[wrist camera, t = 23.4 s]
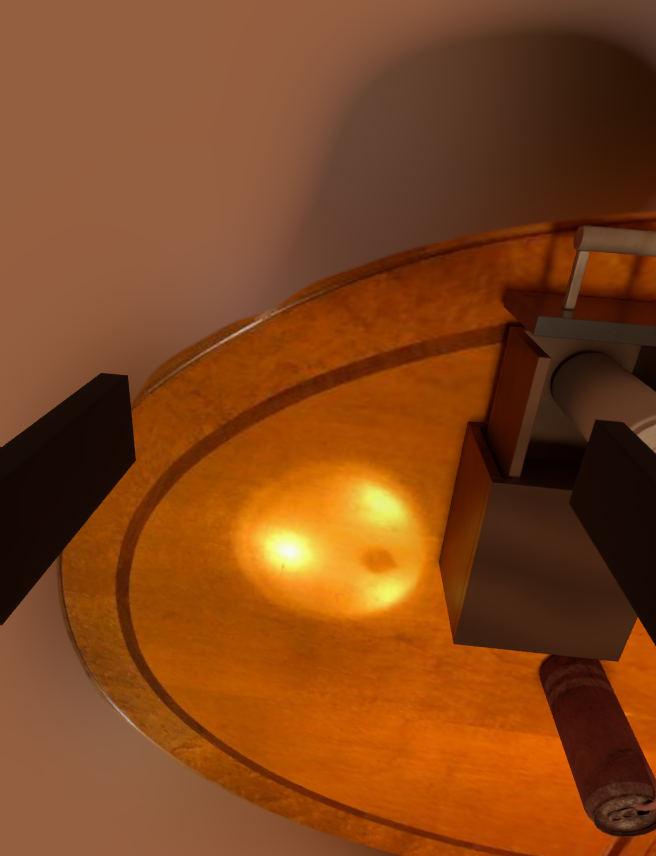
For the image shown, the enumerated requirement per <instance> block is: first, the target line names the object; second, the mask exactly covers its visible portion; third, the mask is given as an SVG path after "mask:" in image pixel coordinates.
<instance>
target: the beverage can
mask: <svg viewBox="0 0 656 856" xmlns="http://www.w3.org/2000/svg"><path fill="white" fill-rule="evenodd" d="M552 393H553V397H554V399H555V401H556V403H557V404H558V406H559V407H560V408H561V409H562V410H563V412H564V413H565V414H566V415H567V417H568V418H569V419H570V420H571V421H572V423H573V424H574V425H575V426H576V427H577V429H578V430H579V431H580V432H581V434H582V435H583V436H584V437H585V439H586V440H587V441H589V438H590V435H591V432H592V429H593V425H594V422H595V419H597V420H607V421H618V422H624V423H625V424H626V425H627V426H628V427H629V428H630V429H631V430H632V431H633V432H634V433H635V434H636V435H637V436H638V437H639V438H640V439H641V440H642V441H644V442H645V443H646V444H647V445H648V446H649V447H650V448H651V449H652V450H653V451H654V452H655V453H656V392H655V391H654V390H652V389H651V388H650V387H649V386H647V385H646V384H645V383H643V382H642V381H641V380H639V379H638V378H637V377H635V376H634V375H633V374H631V373H630V372H629V371H627V370H626V369H625V368H623V367H622V366H621V365H619V364H618V363H617V362H616V361H614V360H613V359H611V358H610V357H608V356H606V355H604V354H599V353H585V354H581V355H577V356H575V357H573V358H571V359H570V360H568V361H567V362H566V363H565V364H563V365H562V366H561V368H560V369H559V370H558V372H557V373H556V375H555V377H554V380H553V385H552Z"/></svg>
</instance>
